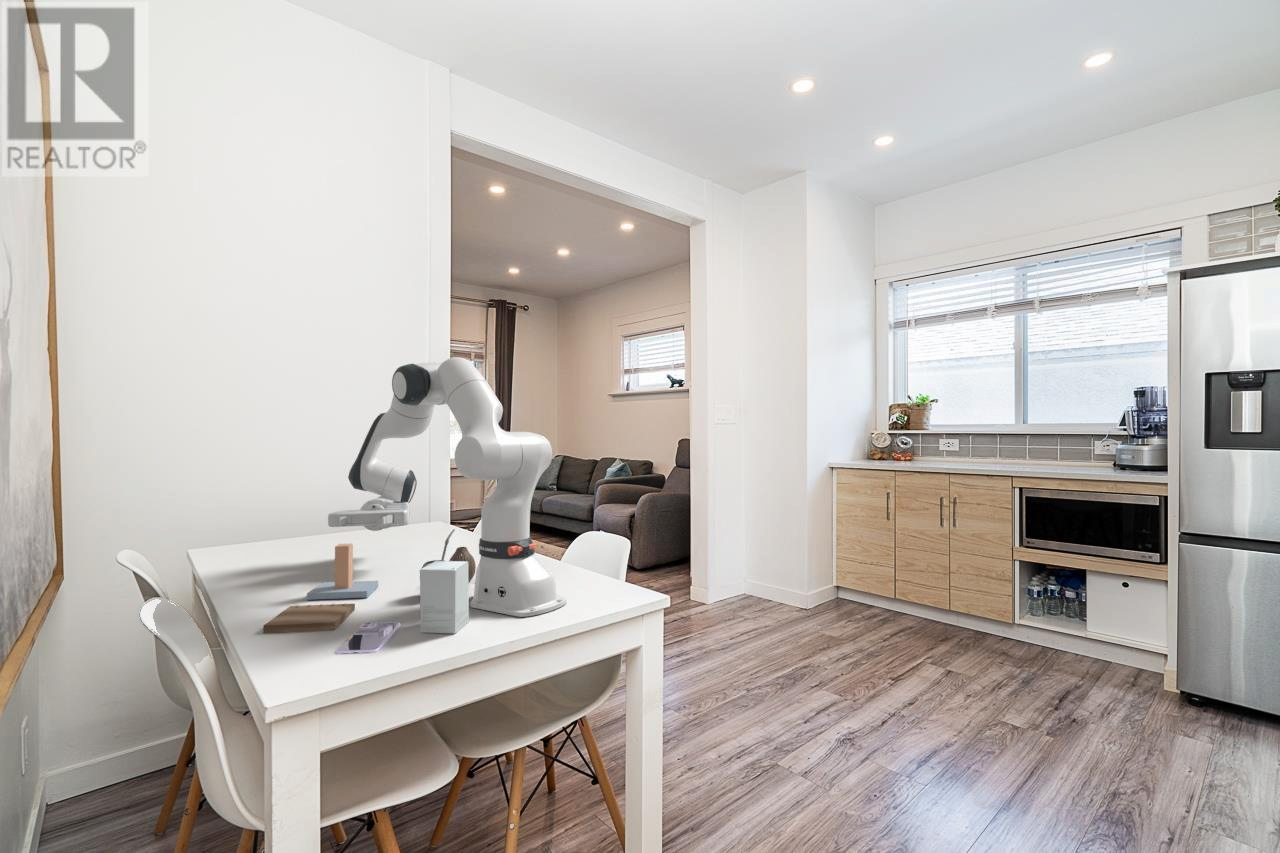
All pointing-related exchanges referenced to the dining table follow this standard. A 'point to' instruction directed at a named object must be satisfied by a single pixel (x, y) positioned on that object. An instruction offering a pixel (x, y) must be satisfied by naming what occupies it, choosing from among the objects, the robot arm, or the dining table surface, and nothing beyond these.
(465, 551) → the vase
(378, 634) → the mobile phone
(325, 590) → the stub
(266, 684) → the dining table surface
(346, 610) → the board
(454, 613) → the supplement box
